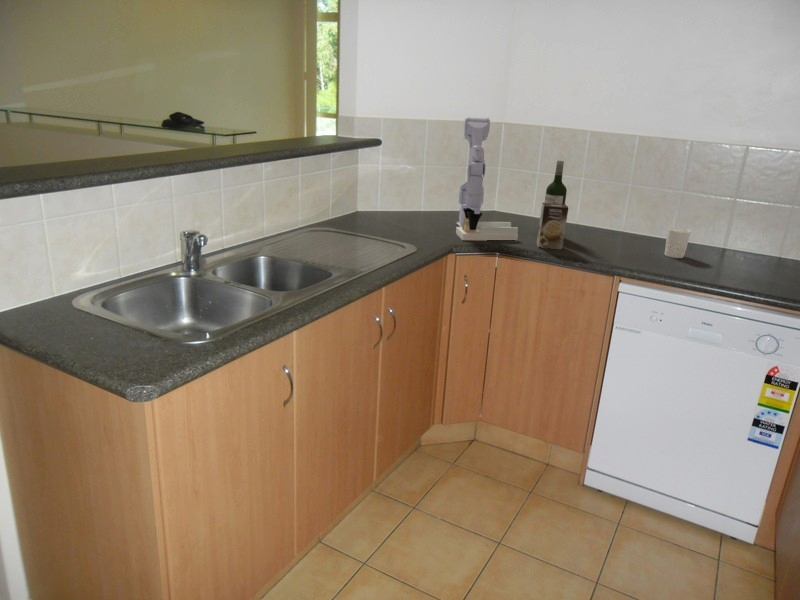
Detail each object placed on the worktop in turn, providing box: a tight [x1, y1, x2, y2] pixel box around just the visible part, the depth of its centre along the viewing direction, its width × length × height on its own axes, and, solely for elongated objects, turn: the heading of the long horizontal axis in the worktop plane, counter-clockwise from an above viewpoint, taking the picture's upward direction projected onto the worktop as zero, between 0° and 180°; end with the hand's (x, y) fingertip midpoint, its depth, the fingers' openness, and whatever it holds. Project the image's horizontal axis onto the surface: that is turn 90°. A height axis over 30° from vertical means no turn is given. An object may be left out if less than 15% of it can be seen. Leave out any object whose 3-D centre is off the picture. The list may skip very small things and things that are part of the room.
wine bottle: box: [544, 159, 568, 205], centre depth 253 cm, size 8×8×30 cm
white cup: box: [664, 226, 692, 259], centre depth 237 cm, size 8×8×10 cm
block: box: [462, 218, 477, 232], centre depth 248 cm, size 4×4×4 cm
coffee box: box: [535, 202, 569, 250], centre depth 239 cm, size 9×6×16 cm
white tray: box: [455, 221, 519, 241], centre depth 250 cm, size 11×22×5 cm, turn 99°
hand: (470, 228), depth 249 cm, fingers closed on block, 4 cm apart
